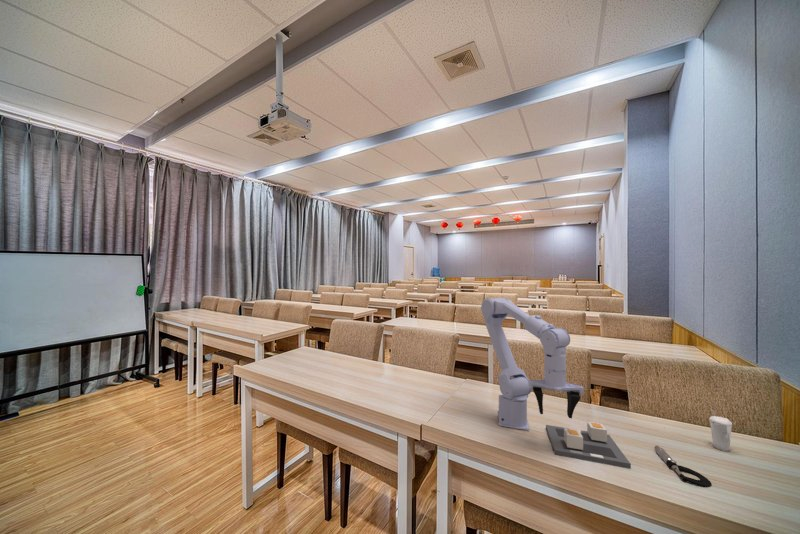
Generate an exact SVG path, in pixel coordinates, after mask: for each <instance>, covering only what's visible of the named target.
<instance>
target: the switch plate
mask: <svg viewBox="0 0 800 534" xmlns="http://www.w3.org/2000/svg"><path fill="white" fill-rule="evenodd" d="M564 428H565V427H563V426H556V425H550V424H545V429H546V433H547V436H548V438H549V441H550V444H551V447H552V450H553V453H554V455H557V456H561V457H568V458H572V459H578V460H583V461H588V462H593V463H599V464H603V465H604V464H605V465H611V466H615V467H620V468H626V469H631V468H632V467H631V466H632V465H631V462H630V461H629V460H628V458H627V457H626V456H625V454H624V453H623V452H622V450H621V449H620V447H619V446H618V445H617V444H616V441H614V439H613V438H612V437H611V435H610V434H607V442H602V441H596V440H591V438H590V436H589V435H588V433H587V430H582V429H578V430H579V431H580V433H581V435H582V436H583V450H580V449H574V448H569V447H567V446H566V443H565V441H564ZM566 428H567V429H571V428H570V427H566ZM572 429H573V430H577V429H576V428H575V429H574V428H572Z"/></svg>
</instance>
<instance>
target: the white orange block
mask: <svg viewBox="0 0 800 534" xmlns="http://www.w3.org/2000/svg"><path fill="white" fill-rule="evenodd" d="M586 425H587V426H586V427H587V430H586V431H587V433H588V435H589V436H590V438H591V440H596V441H602V442H607V435H608V430H607V428H605V426H604V424H602V423H597V422H594V421H593V422H592V421H587V422H586Z"/></svg>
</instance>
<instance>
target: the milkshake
mask: <svg viewBox="0 0 800 534" xmlns="http://www.w3.org/2000/svg"><path fill="white" fill-rule="evenodd" d="M711 412H712V415H711V416H710V417H709V424H710V431H711V440H712V446H713V447H714V448H715V449H717V450H720V451H723V452H729V451H730V448H731V447H730V445H731V435H732V427H733V423H732V421H730V419H728V418H726V417H722V416H716V412H715V410H714V409H711Z"/></svg>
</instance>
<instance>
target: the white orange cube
mask: <svg viewBox="0 0 800 534" xmlns="http://www.w3.org/2000/svg"><path fill="white" fill-rule="evenodd" d="M563 428H564V441H565V443H566V446H567V447H569V448H574V449H580V450H583V436H582V435H581V433H580V431H579V430H580V429H576V430H573V429H574V428H570V429H567V428H568V427H563Z"/></svg>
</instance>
